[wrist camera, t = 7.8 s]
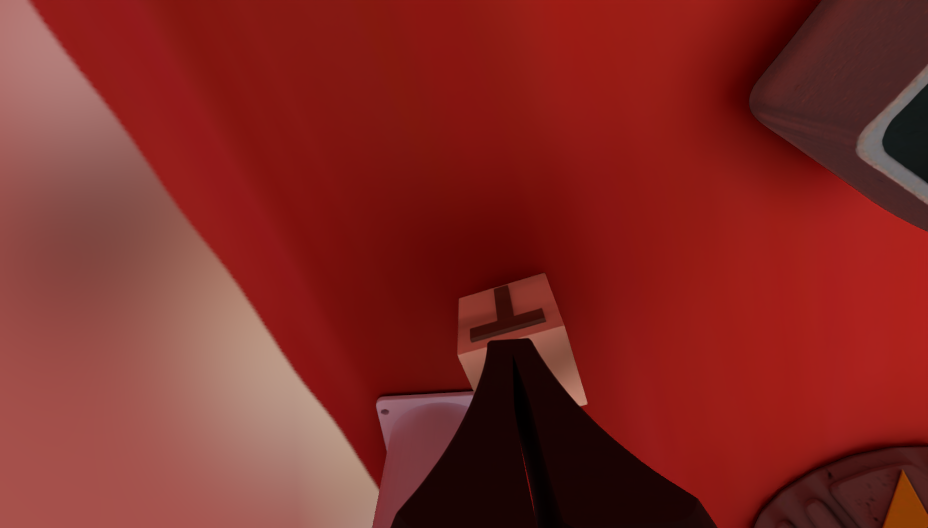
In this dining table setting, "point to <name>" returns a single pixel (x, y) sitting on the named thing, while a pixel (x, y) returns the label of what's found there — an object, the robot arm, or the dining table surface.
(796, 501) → the decorative lamp
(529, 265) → the dining table surface
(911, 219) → the flower pot
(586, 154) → the dining table surface
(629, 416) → the dining table surface
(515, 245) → the dining table surface
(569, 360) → the letter cube
